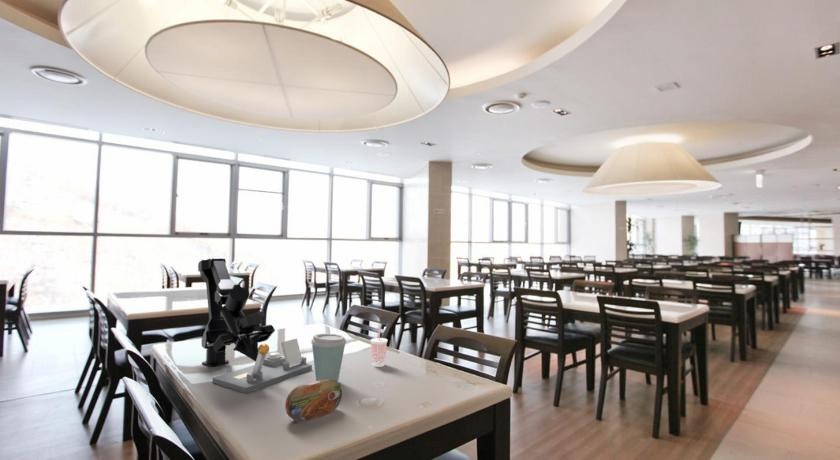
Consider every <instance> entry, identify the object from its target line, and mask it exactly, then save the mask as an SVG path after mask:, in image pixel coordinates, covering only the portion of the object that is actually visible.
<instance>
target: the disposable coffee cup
mask: <svg viewBox="0 0 840 460" xmlns="http://www.w3.org/2000/svg"><path fill="white" fill-rule="evenodd" d="M310 343H311V347H312V355H313V365H314V375H315V382H316V381H320V380H323V379H330V380H334V381H336V382H338V381H339V379H340V373H341V368H342V363H343V358H344V351H345V346H346V343H347V339H346V337H344V336H343V335H341V334H336V333H317V334H315V335H313V339H311V342H310ZM338 383H339V382H338Z"/></svg>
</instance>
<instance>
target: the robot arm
mask: <svg viewBox="0 0 840 460" xmlns="http://www.w3.org/2000/svg"><path fill="white" fill-rule="evenodd" d="M226 264H227V263H226V258H225V257H219V256H218V257H210V258H207V259H206V258H205V259H204V258H202V259H201V260H200V261H199V262H198V264H197V270H198V272H199V274H200V278H201V280H203V281H204V283H205V287H206V298H207V308H208V309H207V310H208V322H207V324H206V326H205V328H204V332H203V335H202V338H201V347H202V348H203V349H205V350H206V353H205V356H206V357H205V359H206V360H205V361H202V362H201V364H202V365H205V366H209V367H217V366H220V365H223V364H227V363H229V362H230V360H228V359H226V352H227V351H226V349H227V346H231V345H234V348H233V351H234V352H235V351H236V352H239V353H241V354H242V355H244V356H246V357H248V358H249V359H251V360H252V361H254V362H256V359H257V356H258V353H259V352H258V348H259V343H262V342H266V341H268V340H269V339H270V337H271V336H272V335H273V334H274V332H276V329H275V328H274V325H272V324H266V325H262V324H263V321H266V314H265V313H264V312H263V311H262V310H259V311H257V312H255V313H253V314H249V315H245V314H244V312H243V310H244V309H245V306H246V304H247V302H248V300H249V298H250V292H249V291H248V290H247V289H246V288H245V287H242V286H241V284H238V283H236V282H234V281H232V279H231V276H230V273H229V270H228V268H227V265H226ZM259 324H261V326H260V327H259V329H258V330H257V331H255V330H256V329H257V326H258V325H259Z"/></svg>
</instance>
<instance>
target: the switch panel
mask: <svg viewBox="0 0 840 460" xmlns="http://www.w3.org/2000/svg"><path fill="white" fill-rule="evenodd" d="M301 357H302V361H301V362H298V363H295V364H292V365H289V363H287V362H285V358H284V356H281V355H280V359H278V360H274V361H272V360H269V356H268V357H267V356H266V357H265V359H264V363H263V366H262V369H261V372H260V375H259V378H256V379H254V374H252V372H253V369H254V366H255V364H254V365H251V366H246V367H244V368H239V369H237V370H234V371H233V370H232V371H230V372H226V373H224V374H220V375H217V376H213V377H212V384H216V385H218V386H222V387H225V388H228V389H231V390H235V391H237V392H240V393H243V394H247V393H251V392H252V391H256V390H259V389H262V388H265V387H267V386H269V385H272V384H275V383H278V382H280V381H281V382H282V381H283V380H287V379H289V378H291V377H294V376H297V375H301V374H303V373H306V372H308V371H311V370H313V365H312V364H310V363H307V357H306V356H301Z"/></svg>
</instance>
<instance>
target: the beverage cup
mask: <svg viewBox="0 0 840 460" xmlns="http://www.w3.org/2000/svg"><path fill="white" fill-rule="evenodd" d="M370 343H371V365H372V367H375V368H376V367H377V368H380V367H384V366H385V365H386V356H387V355H386V353H387V343H388V339H387V338H385V337H381V325H378V337H375V338H374V337H373V338H371V339H370Z"/></svg>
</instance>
